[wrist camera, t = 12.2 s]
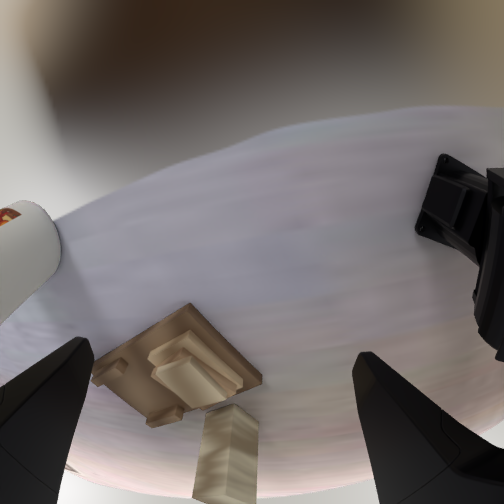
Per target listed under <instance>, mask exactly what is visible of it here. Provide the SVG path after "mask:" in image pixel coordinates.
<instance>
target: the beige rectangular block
mask: <svg viewBox="0 0 504 504" xmlns="http://www.w3.org/2000/svg"><path fill="white" fill-rule="evenodd" d="M258 424H259V422H258V421H257V420H255V419H254V418H253V417H251V416H250V415H249V414H247V413H246V412H245V411H243V410H242V409H241V408H239V407H238V406H237V405H235V404H231V405H228V406H226V407H223V408H220V409H217V410H214V411H211V412H208V413H206V418H205V423H204V429H203V435H202V441H201V447H200V453H199V459H198V465H197V471H196V477H195V483H194V489H193V495H192V498H193V499H196V500H199V501H201V502H204V503H206V504H256V494H257V462H258Z"/></svg>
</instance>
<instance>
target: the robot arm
mask: <svg viewBox="0 0 504 504" xmlns="http://www.w3.org/2000/svg"><path fill="white" fill-rule="evenodd" d="M445 158H446V162H445V163H444V159H445ZM487 178H488V179H487ZM487 178H485V177H484V176H482V175H481V174H479V173H478V172H476V171H474V170H473V169H471V168H470V167H468V166H466V165H465V164H463V163H461V162H460V161H458V160H456V159H455V158H453V157H451V156H449V155H447V154H441V155H440V156H439V158H438V162H437V165H436V168H435V172H434V175H433V176H432V178H431V181H430V184H429V187H428V190H427V193H426V196H425V199H424V202H423V205H422V209H421V212H420V215H419V217H418V220H417V223H416V225H415V231H416V233H418V234H419V235H421V236H423V237H426V238H429V239H431V240H434V241H437V242H439V243H442V244H445V245H447V246H450V247H452V248H455V249H457V250H459V251H460V252H462V253H463V254H464V255H465V256H467V257H468V258H469V259H470V260H471V261H473V262H474V263H475V264H476V265H478V266H479V267H480V268H479V274H478V279H477V284H476V288H475V290H474V292H473V296H472V298H473V301H474V303H475V306H474V316H475V319H476V322H477V324H478V326H479V328H478V333H479V334H480V336H481V337H482V338H483V339H484V340H485V342H486V343H488V344H489V345H490V346H491V347H493V348H494V349H496V350H498V351H497V353H496V356H495V359H496V360H498V361H502V362H504V168H487ZM422 226H423V229H422V230H421V231H420V228H421V227H422ZM93 364H94V354H93V351H92V349H91V346H90V343H89V341H88V339H87V338H83V337H75V338H73V339H72V340H70V341H69V342H67V343H66V344H64V345H63V346H61V347H60V348H58V349H57V350H55V351H54V352H52V353H51V354H49V355H48V356H46V357H45V358H43V359H42V360H40V361H39V362H37V363H36V364H34V365H33V366H31V367H30V368H28V369H27V370H25V371H24V372H22V373H21V374H19V375H18V376H16V377H15V378H13V379H12V380H10V381H9V382H7V383H6V384H5V385H3V386H1V387H0V504H57V500H58V494H59V490H60V485H61V481H62V477H63V473H64V468H65V465H66V461H67V457H68V453H69V450H70V446H71V442H72V439H73V436H74V432H75V429H76V426H77V422H78V419H79V416H80V413H81V410H82V407H83V404H84V401H85V397H86V393H87V389H88V385H89V380H90V376H91V372H92V368H93ZM352 377H353V383H354V389H355V396H356V403H357V409H358V415H359V419H360V423H361V426H362V430H363V434H364V438H365V442H366V446H367V450H368V454H369V458H370V462H371V467H372V471H373V475H374V480H375V484H376V489H377V493H378V498H379V503H380V504H504V449H502V448H499V447H496V446H494V445H492V444H491V443H489V442H488V441H486V440H485V439H483V438H482V437H480V436H478V435H477V434H475V433H474V432H472V431H471V430H469V429H468V428H466V427H465V426H463V425H462V424H461V423H459V422H458V421H457V420H455V419H454V418H453V417H451V416H450V415H449V414H448V413H446V412H445V411H444V410H441V408H440V407H439V406H438V405H437V404H435V403H434V402H433V401H432V400H430V399H429V398H428V397H427V396H425V395H424V394H423V393H422V392H421V391H419V390H418V389H417V388H416V387H414V386H413V385H412V384H411V383H410V382H408V381H407V380H406V379H405V378H403V377H402V376H401V375H400V374H399V373H397V372H396V371H395V370H394V369H392V368H391V367H390V366H389V365H388V364H386V363H385V362H384V361H383V360H381V359H380V358H379V357H378V356H377V355H375V354H374V353H373V352H370V351H368V352H360V353H359V355H358V357H357V359H356V362H355V364H354V367H353V370H352Z"/></svg>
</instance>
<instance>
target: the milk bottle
mask: <svg viewBox="0 0 504 504" xmlns="http://www.w3.org/2000/svg"><path fill="white" fill-rule="evenodd" d="M60 256H61V245H60V239H59V236H58V232H57V229H56V227H55V225H54V223H53V221H52V219H51V218H50V216H49V215H48V214H47V212H46V211H45V210H44V209H43V208H42V207H41V206H39V205H37V204H36V203H34V202H30V201H18V202H16V203H13V204H11V205H9V206H7V207H5V208H2V209H0V325H1V324H2V323H3V322H4V321H5V320H6V319H7V318H8V317H9V316H10V315H11V314H12V313H13V312H14V311H15V310H16V309H17V308H18V307H19V306H20V305H21V304H22V303H24V302H25V301H26V300H27V299H28V298H29V297H30V296H31V295H32V294H33V293H34V292H35V291H36V290H37V289H38V288H39V287H41V286H42V285H43V284H44V283H45V282H46V281H47V280H48V279H49V278H50V277H51V276H52V275H53V274H54V273H55V272H56V270H57V268H58V265H59V262H60Z"/></svg>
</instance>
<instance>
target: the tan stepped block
mask: <svg viewBox="0 0 504 504" xmlns="http://www.w3.org/2000/svg"><path fill="white" fill-rule="evenodd" d="M91 373H92V374H93V375H94V376H93V377H92V379H91V382H92V383H94V384H95V385H96V386H97V387H99V386H101V385H103V384H104V385H105V386H107V387H108V388H109V389H110V390H111V391H113V392H114V393H115V394H116V395H118V396H119V397H120V398H121V399H123V400H124V401H125V402H126V403H128V404H129V405H130V406H132V407H133V408H134V409H136V410H137V411H138V412H140V413H141V414H142V415H144V416H145V417H146V418H147V421H146V425H148V426H149V427H151V428H155V427H159V426H163V425H166V424H170V423H173V422H177V421H180V420H182V417H183V413H186V412H189V411H192V410H195V409H198V408H200V409H201V410H205V409H207V408H209V407H211V406H213V405H215V404H217V403H219V402H221V401H224V400H226V399H227V398H229V397H231V396H234V395H236V394H239V393H241V392H244V391H246V390H249V389H251V388H254V387H256V386H258V385H261V384H262V374H261V373H260V372H259V371H258V370H257V369H255V368H254V367H253V366H252V365H251V364H250V363H249V362H248V361H247V360H246V359H245V358H244V357H243V356H242V355H241V354H240V353H239V352H238V351H237V350H236V349H235V348H234V347H233V346H232V345H231V344H230V343H229V342H228V341H227V340H226V339H225V338H224V337H223V336H222V335H221V334H220V333H219V332H218V331H217V330H216V329H215V328H214V327H213V326H212V325H211V324H210V323H209V322H208V321H207V320H206V319H205V318H204V317H203V316H202V315H201V314H200V312H199V311H198V310H197V309H196V308H195V307H194V306H193V305H192V304H191V303H189V304H187V305H185V306H184V307H182V308H181V309H179V310H177V311H176V312H174V313H173V314H171V315H169V316H168V317H166V318H164V319H163V320H161V321H160V322H158V323H156V324H155V325H153V326H152V327H150V328H148V329H147V330H145V331H143V332H142V333H140V334H139V335H137V336H135V337H134V338H132V339H131V340H129V341H127V342H126V343H124V344H122V345H121V346H119V347H118V348H116V349H114V350H113V351H111V352H109V353H108V354H106V355H104V356H103V357H101V358H100V359H98V360H96V361H95V362H94V364H93V368H92V372H91Z"/></svg>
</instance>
